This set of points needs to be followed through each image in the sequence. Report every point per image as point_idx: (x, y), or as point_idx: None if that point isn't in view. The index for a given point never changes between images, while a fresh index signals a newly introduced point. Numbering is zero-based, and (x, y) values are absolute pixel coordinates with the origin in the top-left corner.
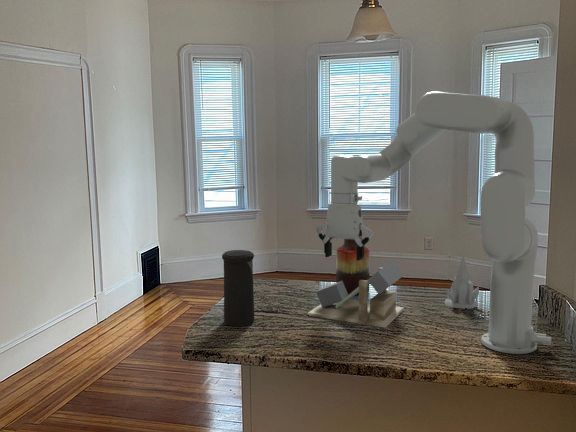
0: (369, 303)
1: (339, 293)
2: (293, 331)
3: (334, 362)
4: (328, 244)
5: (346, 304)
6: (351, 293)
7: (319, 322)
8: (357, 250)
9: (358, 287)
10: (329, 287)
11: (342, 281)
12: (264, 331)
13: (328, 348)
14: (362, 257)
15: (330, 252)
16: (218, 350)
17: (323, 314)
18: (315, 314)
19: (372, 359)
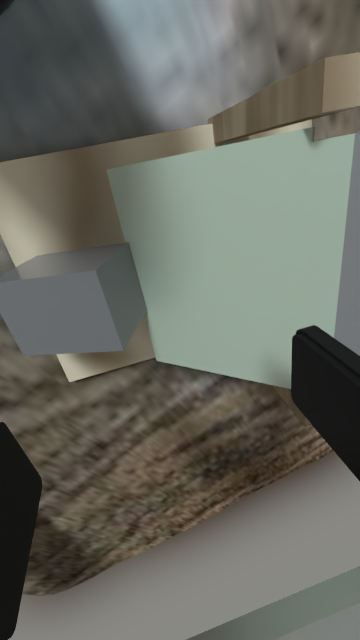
0: (174, 143)
1: (137, 326)
2: (132, 460)
3: (274, 481)
4: (1, 624)
5: (106, 223)
6: (232, 375)
7: (139, 390)
8: (356, 465)
9: (273, 384)
10: (90, 351)
11: (98, 270)
12: (83, 498)
13: (241, 460)
14: (315, 328)
15: (7, 469)
16: (98, 570)
17: (119, 362)
18: (96, 373)
19: (320, 440)
